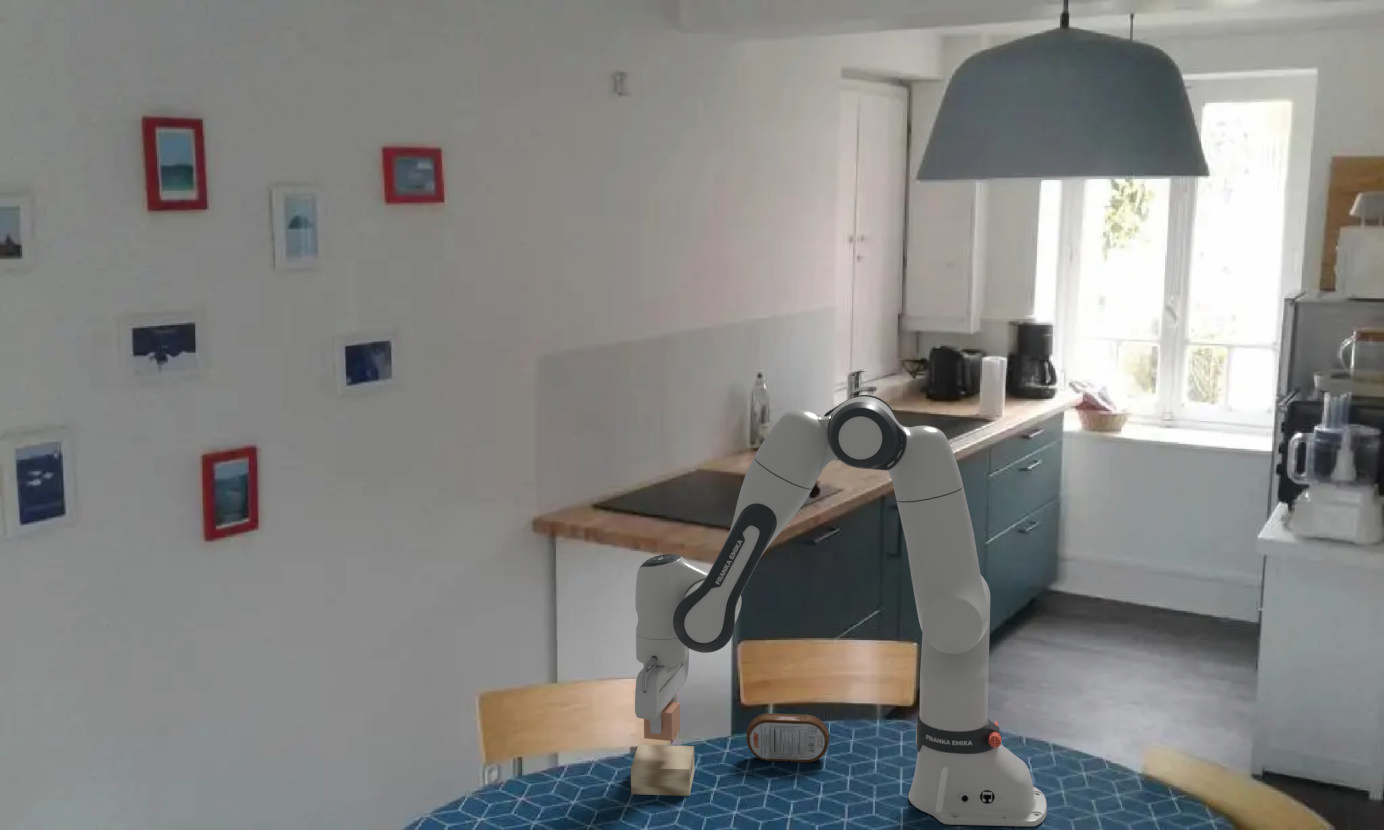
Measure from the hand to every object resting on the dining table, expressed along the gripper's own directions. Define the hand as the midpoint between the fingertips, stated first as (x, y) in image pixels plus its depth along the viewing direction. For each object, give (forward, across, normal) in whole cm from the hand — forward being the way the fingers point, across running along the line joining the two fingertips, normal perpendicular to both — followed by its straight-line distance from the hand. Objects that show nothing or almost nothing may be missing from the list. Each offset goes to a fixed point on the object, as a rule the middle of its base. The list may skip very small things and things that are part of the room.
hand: (662, 725), depth 219 cm
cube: (+2, 0, 0) cm, 2 cm away
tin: (+11, +15, -19) cm, 26 cm away
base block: (+11, 0, 0) cm, 11 cm away
